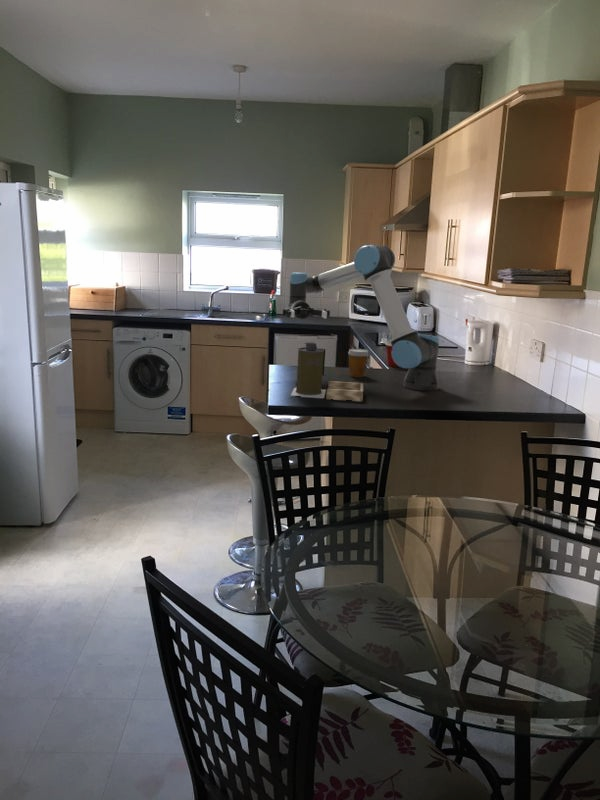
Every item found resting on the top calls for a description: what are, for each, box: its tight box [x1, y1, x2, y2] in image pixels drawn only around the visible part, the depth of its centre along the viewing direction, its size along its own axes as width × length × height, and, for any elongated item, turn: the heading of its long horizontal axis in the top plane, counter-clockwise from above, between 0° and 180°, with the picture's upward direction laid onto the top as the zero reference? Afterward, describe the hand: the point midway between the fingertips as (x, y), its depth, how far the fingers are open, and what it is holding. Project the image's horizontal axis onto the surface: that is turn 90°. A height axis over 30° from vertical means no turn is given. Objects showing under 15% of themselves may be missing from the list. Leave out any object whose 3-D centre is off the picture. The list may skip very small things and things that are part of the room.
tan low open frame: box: [325, 380, 364, 402], centre depth 260 cm, size 14×16×4 cm
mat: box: [290, 387, 327, 399], centre depth 262 cm, size 13×14×1 cm
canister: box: [296, 341, 326, 395], centre depth 260 cm, size 11×10×20 cm
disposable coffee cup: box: [347, 348, 369, 378], centre depth 302 cm, size 10×10×12 cm
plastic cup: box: [384, 340, 399, 368], centre depth 333 cm, size 11×11×12 cm
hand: (309, 314), depth 269 cm, fingers open, 13 cm apart
